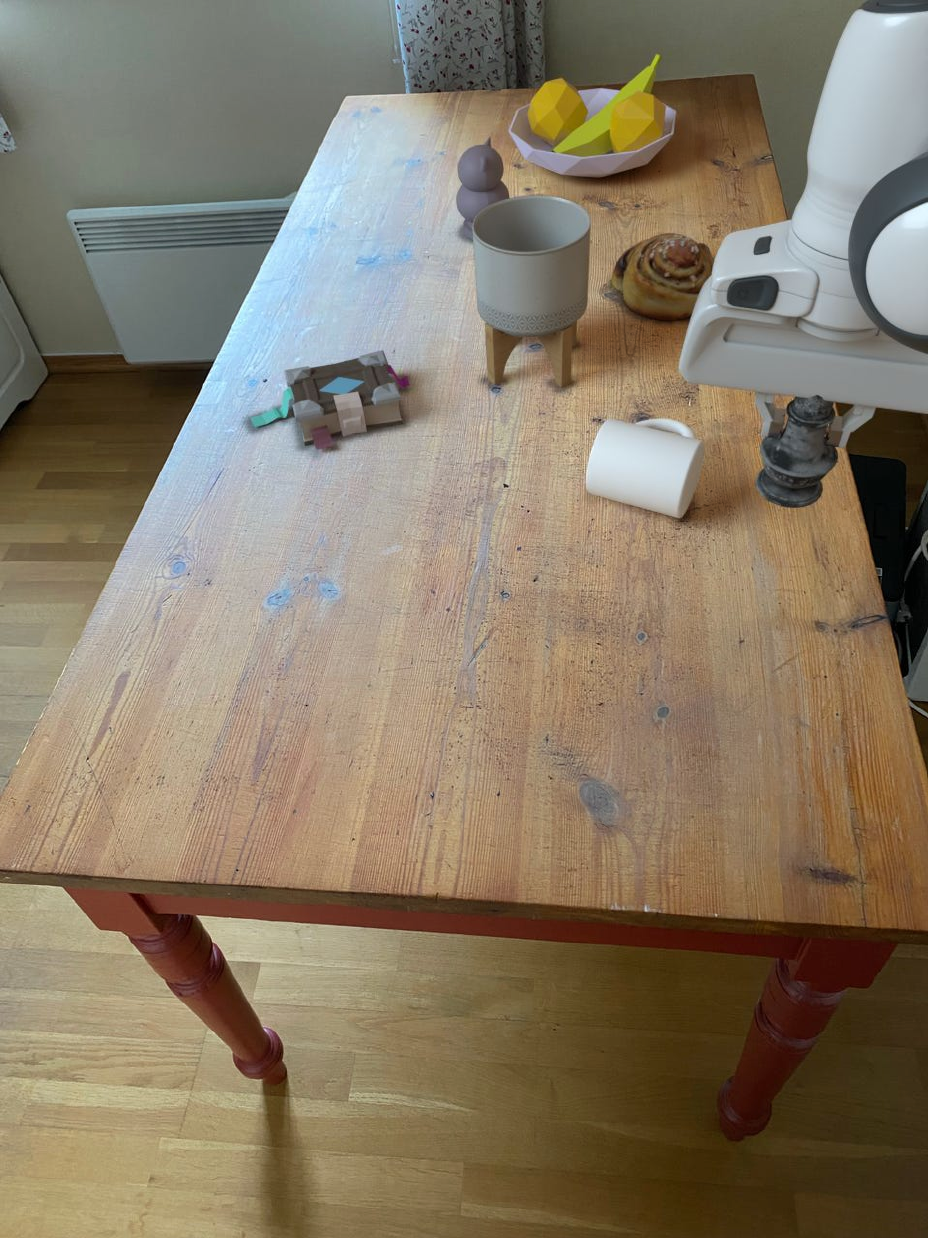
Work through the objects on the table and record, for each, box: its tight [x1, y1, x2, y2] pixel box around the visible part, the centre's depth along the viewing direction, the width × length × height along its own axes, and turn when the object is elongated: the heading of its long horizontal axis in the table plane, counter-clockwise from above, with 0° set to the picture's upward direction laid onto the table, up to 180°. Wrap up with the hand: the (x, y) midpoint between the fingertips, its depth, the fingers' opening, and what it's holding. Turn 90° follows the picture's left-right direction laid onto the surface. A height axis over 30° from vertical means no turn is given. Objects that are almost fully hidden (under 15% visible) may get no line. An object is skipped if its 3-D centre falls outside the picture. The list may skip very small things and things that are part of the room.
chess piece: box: [754, 395, 839, 509], centre depth 68 cm, size 6×6×12 cm
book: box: [249, 349, 410, 451], centre depth 104 cm, size 20×12×5 cm, turn 106°
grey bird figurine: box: [455, 136, 511, 241], centre depth 129 cm, size 8×8×12 cm
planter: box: [472, 194, 592, 389], centre depth 104 cm, size 13×13×18 cm
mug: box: [585, 417, 706, 519], centre depth 92 cm, size 12×10×8 cm
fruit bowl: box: [508, 53, 677, 179], centre depth 142 cm, size 28×27×11 cm
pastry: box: [611, 232, 715, 321], centre depth 116 cm, size 13×15×8 cm
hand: (801, 437), depth 69 cm, fingers closed on chess piece, 3 cm apart
